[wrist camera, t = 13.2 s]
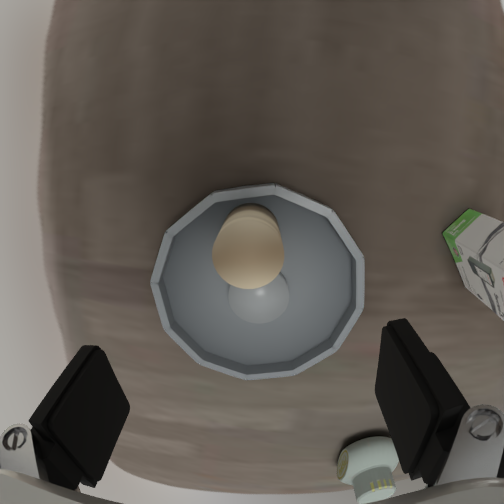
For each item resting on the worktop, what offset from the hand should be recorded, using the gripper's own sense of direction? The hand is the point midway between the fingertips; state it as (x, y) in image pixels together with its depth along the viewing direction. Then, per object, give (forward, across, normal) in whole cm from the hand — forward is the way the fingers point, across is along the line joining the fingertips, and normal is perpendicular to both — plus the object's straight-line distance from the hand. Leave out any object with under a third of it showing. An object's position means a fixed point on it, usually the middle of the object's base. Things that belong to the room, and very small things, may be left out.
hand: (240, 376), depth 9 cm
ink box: (+21, -24, +6) cm, 32 cm away
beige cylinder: (+20, 0, +1) cm, 20 cm away
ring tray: (+20, 0, +7) cm, 21 cm away
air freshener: (+20, -13, +38) cm, 45 cm away
